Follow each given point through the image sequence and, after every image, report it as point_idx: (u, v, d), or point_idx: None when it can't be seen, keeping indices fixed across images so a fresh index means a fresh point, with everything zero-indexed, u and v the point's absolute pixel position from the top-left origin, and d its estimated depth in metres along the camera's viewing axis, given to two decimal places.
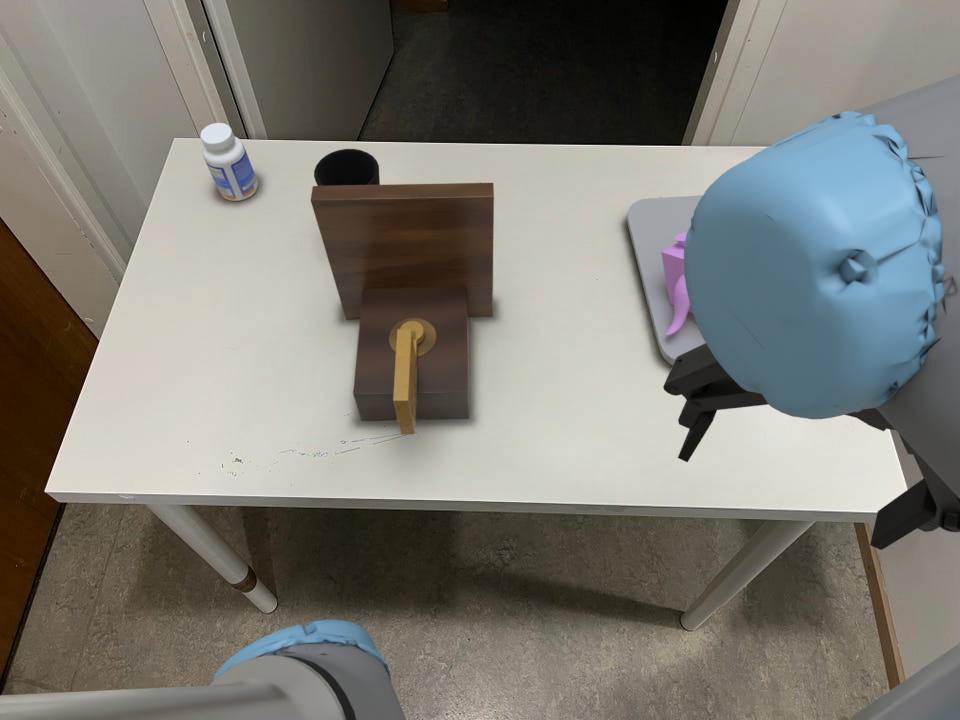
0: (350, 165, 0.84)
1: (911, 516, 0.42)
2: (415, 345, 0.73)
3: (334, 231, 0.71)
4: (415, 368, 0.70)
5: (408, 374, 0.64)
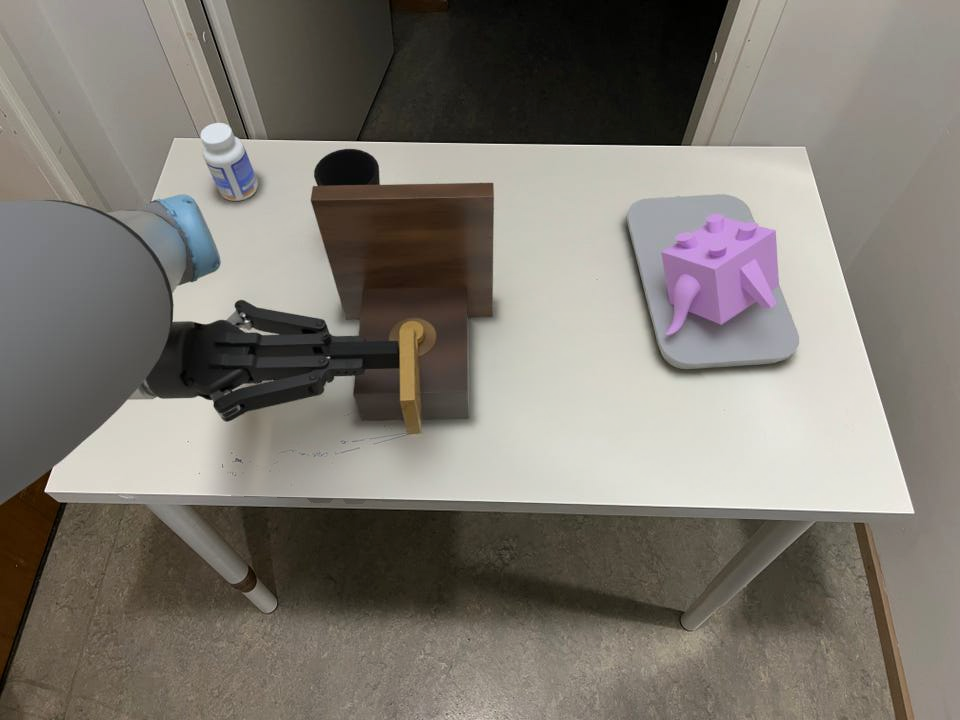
0: (350, 165, 0.84)
1: None
2: (416, 345, 0.73)
3: (334, 231, 0.71)
4: (418, 368, 0.70)
5: (413, 373, 0.64)
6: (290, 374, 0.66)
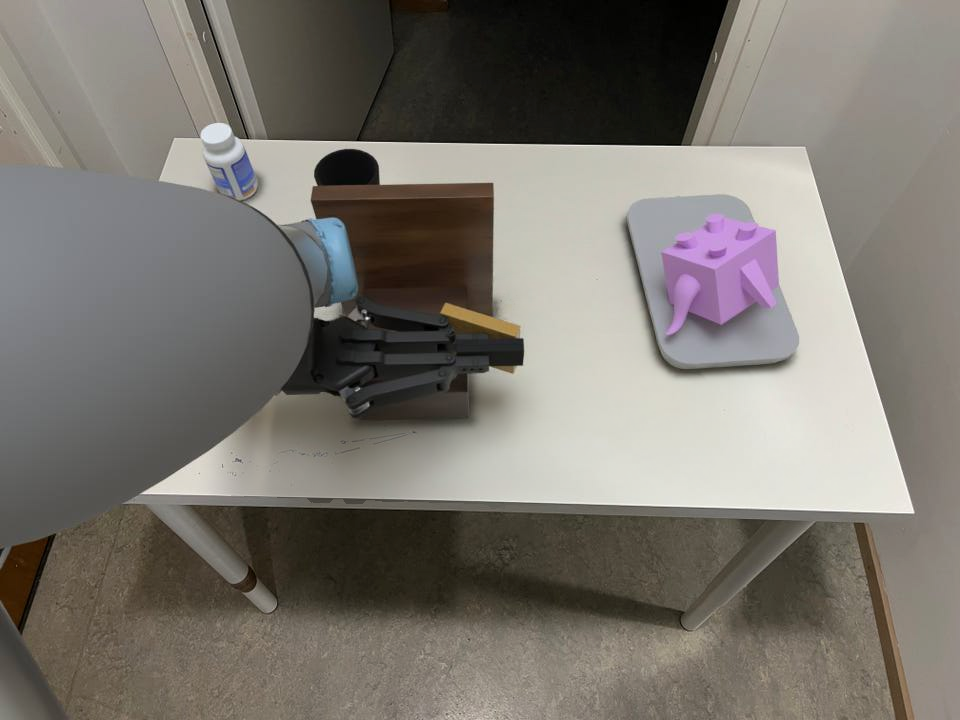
0: (350, 165, 0.84)
1: None
2: None
3: None
4: None
5: (493, 318, 0.67)
6: (416, 371, 0.66)
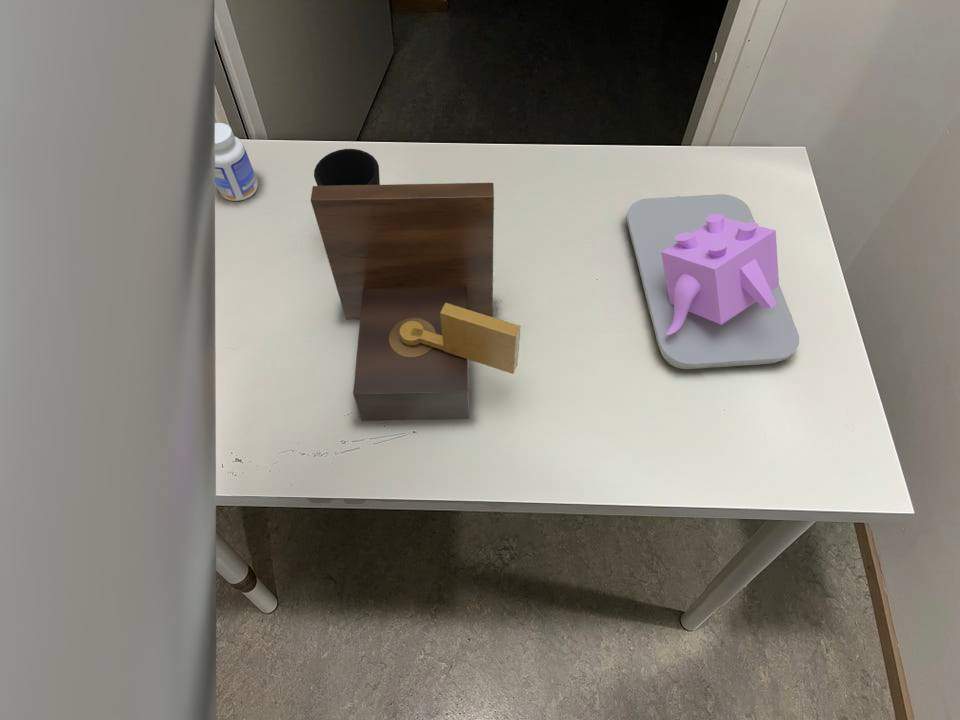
0: (350, 165, 0.84)
1: None
2: (429, 332, 0.74)
3: (334, 231, 0.71)
4: None
5: (493, 318, 0.67)
6: None
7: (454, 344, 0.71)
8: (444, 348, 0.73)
